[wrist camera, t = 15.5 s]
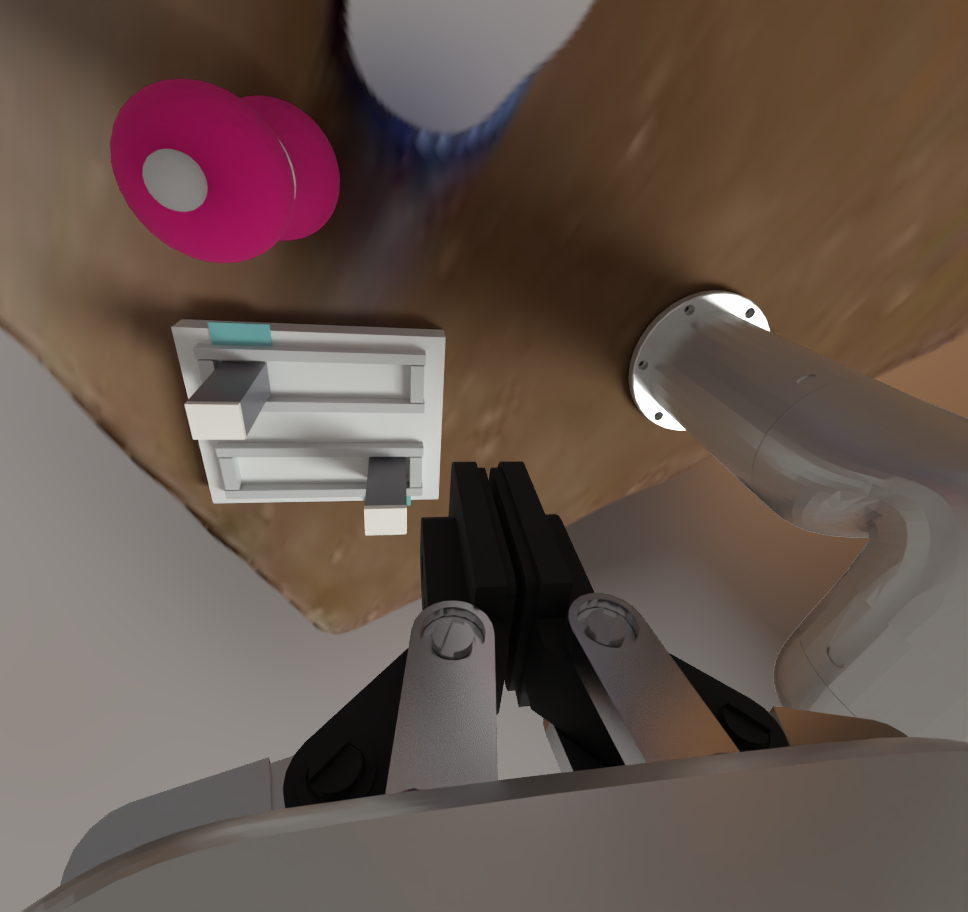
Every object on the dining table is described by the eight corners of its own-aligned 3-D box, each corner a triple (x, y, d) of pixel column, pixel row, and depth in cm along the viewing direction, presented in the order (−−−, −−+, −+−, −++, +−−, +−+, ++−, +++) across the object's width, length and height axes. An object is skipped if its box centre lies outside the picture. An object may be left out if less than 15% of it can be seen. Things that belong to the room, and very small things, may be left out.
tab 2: (405, 455, 42) (406, 508, 35) (405, 479, 43) (406, 534, 36) (369, 456, 41) (363, 509, 35) (370, 479, 42) (365, 535, 36)
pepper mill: (270, 248, 34) (143, 334, 17) (204, 131, 30) (-45, 91, 13) (365, 207, 34) (331, 254, 17) (310, 83, 30) (193, -20, 13)
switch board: (443, 323, 38) (446, 334, 36) (436, 491, 47) (438, 510, 44) (180, 312, 35) (163, 323, 33) (221, 494, 43) (210, 515, 41)
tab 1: (266, 362, 36) (238, 405, 30) (270, 392, 37) (244, 439, 31) (222, 361, 35) (184, 404, 29) (228, 391, 37) (192, 439, 30)
